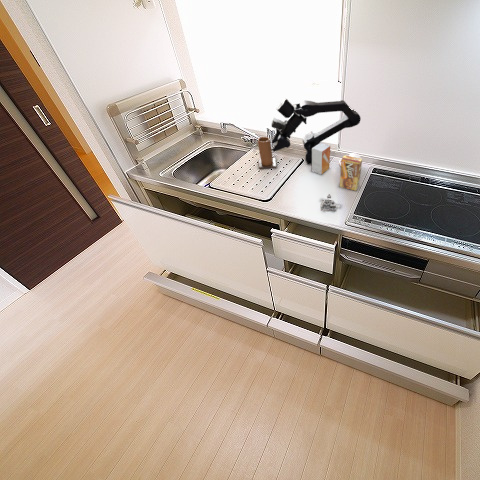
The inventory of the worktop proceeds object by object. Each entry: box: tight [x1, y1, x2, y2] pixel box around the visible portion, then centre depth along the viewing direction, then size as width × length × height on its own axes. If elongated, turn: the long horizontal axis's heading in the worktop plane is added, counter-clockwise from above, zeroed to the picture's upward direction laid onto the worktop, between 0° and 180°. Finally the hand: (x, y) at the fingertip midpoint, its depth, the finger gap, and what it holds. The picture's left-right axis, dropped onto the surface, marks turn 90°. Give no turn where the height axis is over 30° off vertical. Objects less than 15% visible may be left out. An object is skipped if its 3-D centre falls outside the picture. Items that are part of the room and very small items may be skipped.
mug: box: [338, 152, 362, 168], centre depth 136 cm, size 12×9×8 cm
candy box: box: [339, 155, 363, 192], centre depth 123 cm, size 9×4×15 cm, turn 68°
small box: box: [311, 142, 331, 176], centre depth 135 cm, size 8×6×13 cm
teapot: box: [319, 193, 341, 212], centre depth 115 cm, size 9×9×8 cm
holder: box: [258, 157, 277, 170], centre depth 141 cm, size 9×9×6 cm
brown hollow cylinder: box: [257, 136, 274, 165], centre depth 137 cm, size 6×6×13 cm
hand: (272, 146), depth 136 cm, fingers open, 9 cm apart
